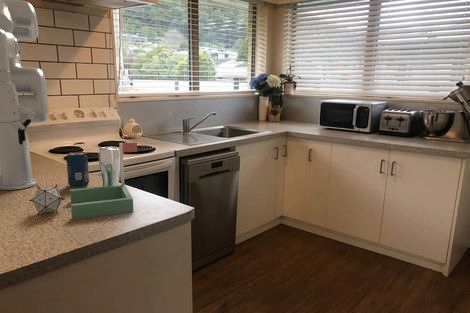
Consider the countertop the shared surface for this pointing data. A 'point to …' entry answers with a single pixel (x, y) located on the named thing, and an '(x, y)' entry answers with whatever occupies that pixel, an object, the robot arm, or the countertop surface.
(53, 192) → the game die
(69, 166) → the soda can
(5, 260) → the countertop surface
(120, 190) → the green open box
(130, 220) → the countertop surface
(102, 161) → the beer glass
